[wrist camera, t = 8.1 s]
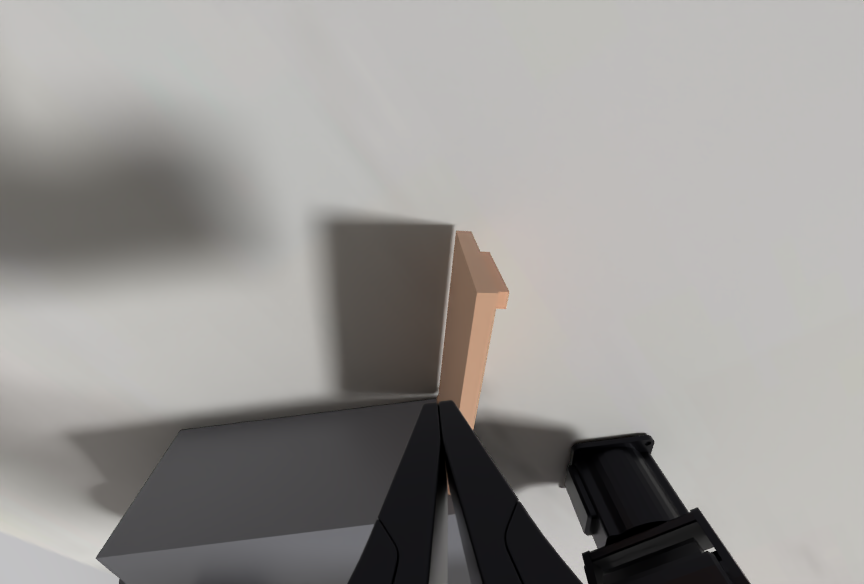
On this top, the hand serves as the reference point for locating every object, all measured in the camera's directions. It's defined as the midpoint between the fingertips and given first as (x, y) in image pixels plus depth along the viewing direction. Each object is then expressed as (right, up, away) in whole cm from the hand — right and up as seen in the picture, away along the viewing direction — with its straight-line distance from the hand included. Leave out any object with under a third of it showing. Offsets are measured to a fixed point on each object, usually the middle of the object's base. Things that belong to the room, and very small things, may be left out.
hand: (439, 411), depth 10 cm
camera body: (-9, -11, +18) cm, 23 cm away
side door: (+1, +1, +11) cm, 12 cm away
